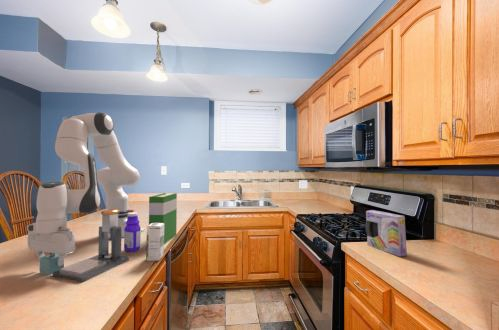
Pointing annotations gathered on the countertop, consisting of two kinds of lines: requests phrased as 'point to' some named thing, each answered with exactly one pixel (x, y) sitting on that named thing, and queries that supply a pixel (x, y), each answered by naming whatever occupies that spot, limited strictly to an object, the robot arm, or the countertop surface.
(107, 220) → the press ram
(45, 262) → the block
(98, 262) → the base
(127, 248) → the bottle
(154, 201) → the green striped box
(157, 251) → the syrup box
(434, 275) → the countertop surface
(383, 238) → the cake pan box
